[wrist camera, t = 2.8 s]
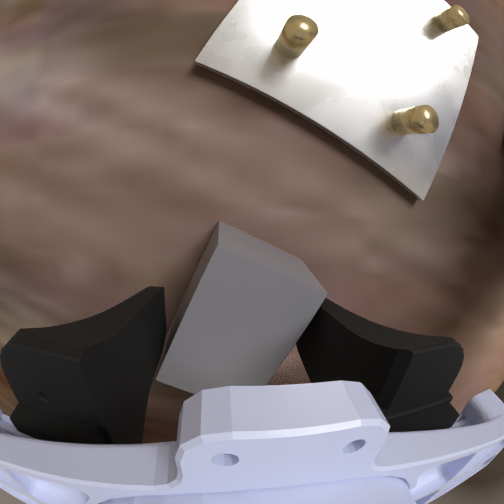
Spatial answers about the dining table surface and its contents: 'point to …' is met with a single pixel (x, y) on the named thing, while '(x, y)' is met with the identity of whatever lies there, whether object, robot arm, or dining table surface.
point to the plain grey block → (238, 314)
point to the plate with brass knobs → (357, 72)
